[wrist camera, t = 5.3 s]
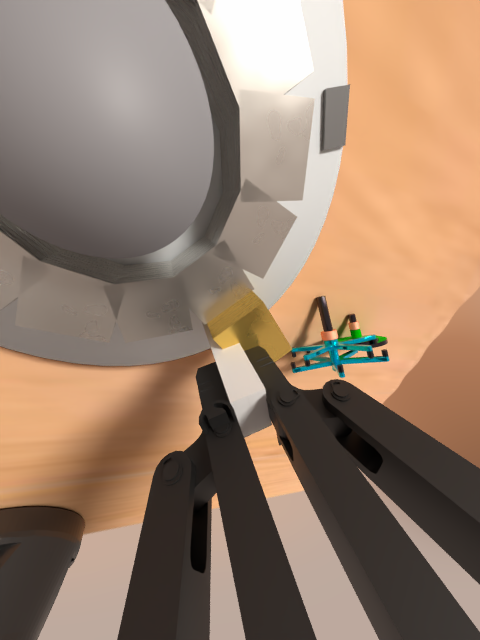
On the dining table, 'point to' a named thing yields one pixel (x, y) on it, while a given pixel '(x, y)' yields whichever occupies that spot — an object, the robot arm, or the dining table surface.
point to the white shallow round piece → (138, 150)
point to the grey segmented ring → (231, 212)
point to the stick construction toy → (339, 345)
